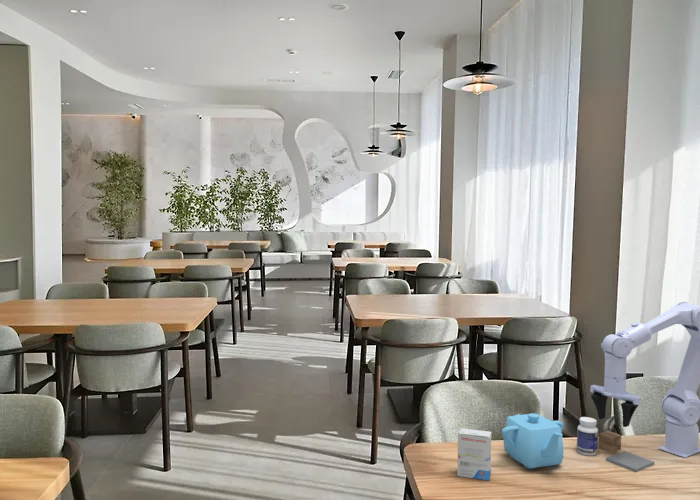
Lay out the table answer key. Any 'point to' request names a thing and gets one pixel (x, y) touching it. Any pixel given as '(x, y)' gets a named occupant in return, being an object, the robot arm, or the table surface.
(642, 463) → the slate coaster
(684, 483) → the table surface
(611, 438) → the walnut cube
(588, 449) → the pill bottle
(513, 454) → the teapot
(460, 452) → the ink box
